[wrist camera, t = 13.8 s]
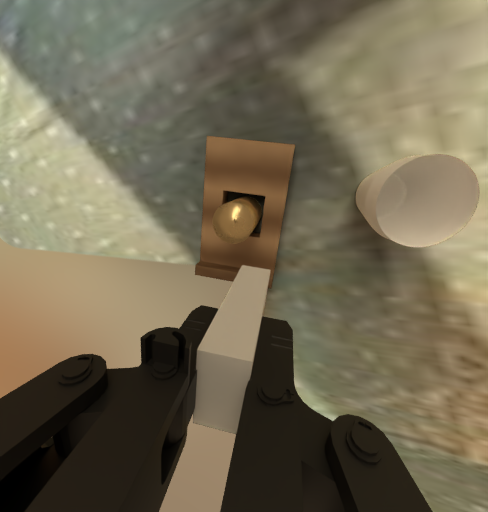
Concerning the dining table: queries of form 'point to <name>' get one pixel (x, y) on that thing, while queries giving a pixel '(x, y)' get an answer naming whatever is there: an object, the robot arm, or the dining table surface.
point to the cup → (419, 199)
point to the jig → (251, 182)
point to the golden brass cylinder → (237, 219)
